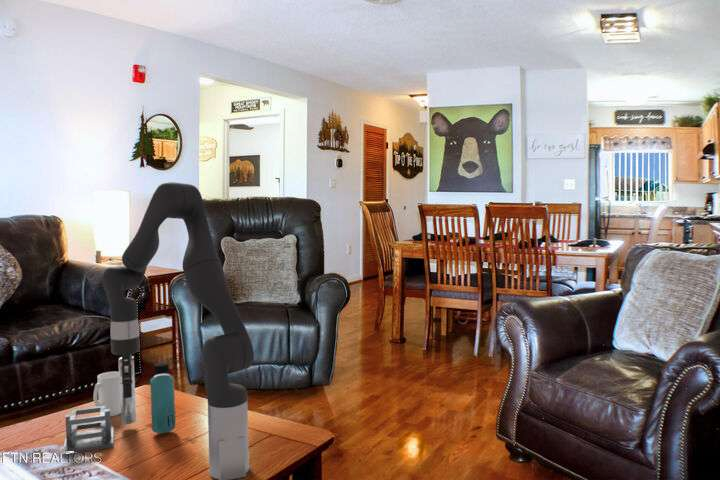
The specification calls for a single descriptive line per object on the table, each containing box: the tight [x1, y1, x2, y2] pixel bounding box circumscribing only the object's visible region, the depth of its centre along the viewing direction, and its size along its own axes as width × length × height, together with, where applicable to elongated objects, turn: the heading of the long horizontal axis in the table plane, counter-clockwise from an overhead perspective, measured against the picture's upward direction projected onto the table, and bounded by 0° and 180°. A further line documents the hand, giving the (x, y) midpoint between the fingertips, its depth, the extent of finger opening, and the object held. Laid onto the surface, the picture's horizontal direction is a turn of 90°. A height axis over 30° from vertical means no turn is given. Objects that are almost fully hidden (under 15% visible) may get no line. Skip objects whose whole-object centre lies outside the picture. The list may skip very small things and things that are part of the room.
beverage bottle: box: [149, 361, 177, 434], centre depth 162 cm, size 6×7×20 cm
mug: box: [92, 371, 121, 417], centre depth 177 cm, size 10×7×12 cm, turn 162°
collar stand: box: [61, 406, 115, 454], centre depth 157 cm, size 12×12×8 cm
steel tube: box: [118, 357, 137, 425], centre depth 166 cm, size 4×4×18 cm
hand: (127, 394), depth 166 cm, fingers closed on steel tube, 4 cm apart
